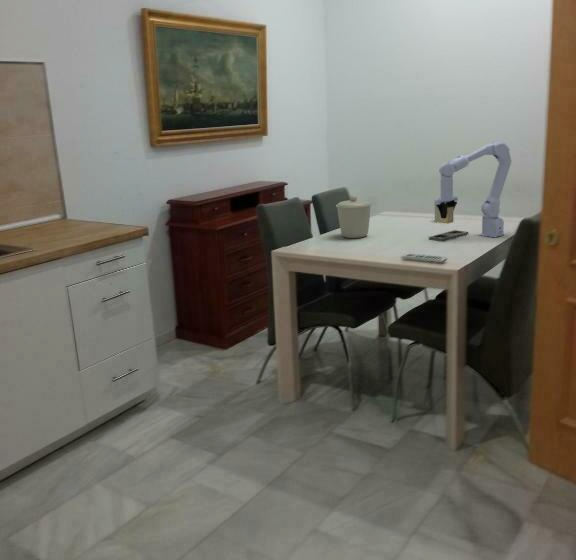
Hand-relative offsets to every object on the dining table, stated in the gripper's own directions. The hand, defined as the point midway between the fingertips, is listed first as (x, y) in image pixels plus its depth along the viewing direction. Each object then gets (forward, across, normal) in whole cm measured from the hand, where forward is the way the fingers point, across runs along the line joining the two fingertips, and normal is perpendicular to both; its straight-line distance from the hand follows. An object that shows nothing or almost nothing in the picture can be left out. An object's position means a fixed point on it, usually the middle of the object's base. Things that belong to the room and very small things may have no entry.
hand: (446, 217), depth 305 cm
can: (+10, -34, -28) cm, 45 cm away
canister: (+10, +23, -40) cm, 47 cm away
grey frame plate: (+10, -2, 0) cm, 10 cm away
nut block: (+2, 0, 0) cm, 2 cm away
